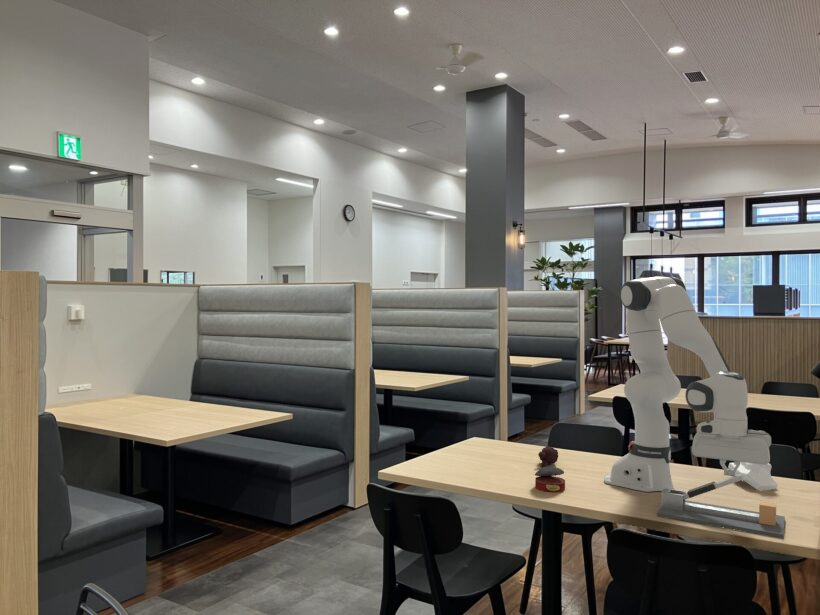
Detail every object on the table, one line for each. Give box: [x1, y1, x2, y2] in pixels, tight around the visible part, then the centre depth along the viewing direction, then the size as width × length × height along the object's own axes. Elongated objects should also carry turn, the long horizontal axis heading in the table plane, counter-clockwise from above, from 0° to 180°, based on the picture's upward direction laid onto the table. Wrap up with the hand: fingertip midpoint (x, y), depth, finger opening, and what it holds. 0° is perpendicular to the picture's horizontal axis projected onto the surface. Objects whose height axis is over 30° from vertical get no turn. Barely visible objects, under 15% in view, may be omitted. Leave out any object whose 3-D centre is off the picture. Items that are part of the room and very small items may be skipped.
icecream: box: [538, 445, 559, 468], centre depth 249 cm, size 7×7×15 cm
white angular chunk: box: [727, 462, 779, 492], centre depth 223 cm, size 12×15×14 cm
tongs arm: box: [681, 473, 744, 500], centre depth 190 cm, size 21×3×2 cm, turn 59°
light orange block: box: [758, 500, 777, 526], centre depth 181 cm, size 4×5×5 cm
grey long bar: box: [660, 488, 776, 525], centre depth 188 cm, size 30×6×4 cm, turn 59°
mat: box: [656, 499, 786, 539], centre depth 188 cm, size 32×18×1 cm, turn 59°
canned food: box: [534, 465, 566, 493], centre depth 216 cm, size 11×10×10 cm
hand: (729, 475), depth 186 cm, fingers closed
